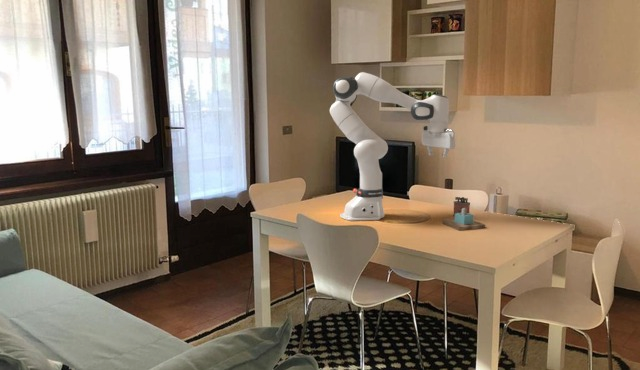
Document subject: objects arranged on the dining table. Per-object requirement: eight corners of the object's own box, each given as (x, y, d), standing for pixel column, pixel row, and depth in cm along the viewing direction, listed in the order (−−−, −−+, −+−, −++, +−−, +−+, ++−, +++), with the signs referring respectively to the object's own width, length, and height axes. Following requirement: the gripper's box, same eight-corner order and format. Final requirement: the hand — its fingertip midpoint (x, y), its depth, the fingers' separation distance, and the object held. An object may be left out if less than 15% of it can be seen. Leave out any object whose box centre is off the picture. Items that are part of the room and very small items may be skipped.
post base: (459, 230, 255) (459, 212, 254) (442, 223, 268) (443, 206, 267) (485, 227, 260) (486, 209, 258) (468, 221, 273) (468, 204, 271)
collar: (464, 224, 260) (464, 216, 259) (454, 222, 265) (454, 213, 264) (473, 223, 263) (473, 214, 262) (463, 220, 268) (463, 212, 267)
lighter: (470, 216, 282) (470, 197, 280) (468, 218, 279) (469, 198, 277) (453, 215, 285) (454, 196, 283) (452, 216, 282) (453, 197, 280)
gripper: (459, 129, 267) (457, 158, 270) (429, 126, 284) (428, 153, 287) (449, 130, 264) (447, 159, 266) (420, 126, 281) (418, 154, 284)
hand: (437, 156), depth 277 cm, fingers open, 8 cm apart
